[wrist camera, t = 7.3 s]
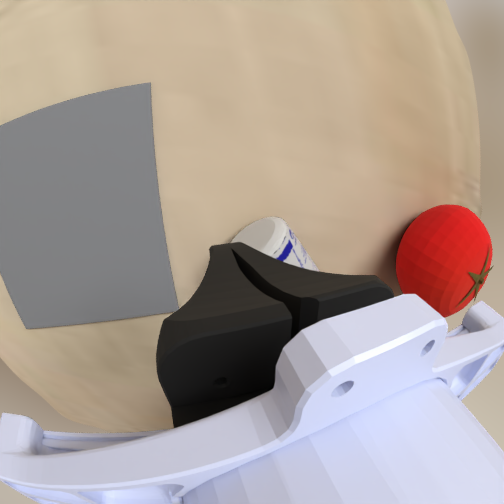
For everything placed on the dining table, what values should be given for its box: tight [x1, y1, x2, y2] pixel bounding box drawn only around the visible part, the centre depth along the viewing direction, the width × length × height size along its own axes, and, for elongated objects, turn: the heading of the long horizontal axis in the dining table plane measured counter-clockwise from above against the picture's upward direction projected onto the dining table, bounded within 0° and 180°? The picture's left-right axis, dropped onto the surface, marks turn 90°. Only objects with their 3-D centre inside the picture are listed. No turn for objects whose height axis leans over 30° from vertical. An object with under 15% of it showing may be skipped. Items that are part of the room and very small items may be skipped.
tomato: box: [396, 205, 492, 318], centre depth 25 cm, size 12×13×11 cm
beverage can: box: [231, 217, 320, 272], centre depth 24 cm, size 6×6×15 cm
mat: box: [0, 83, 179, 329], centre depth 18 cm, size 19×17×1 cm
